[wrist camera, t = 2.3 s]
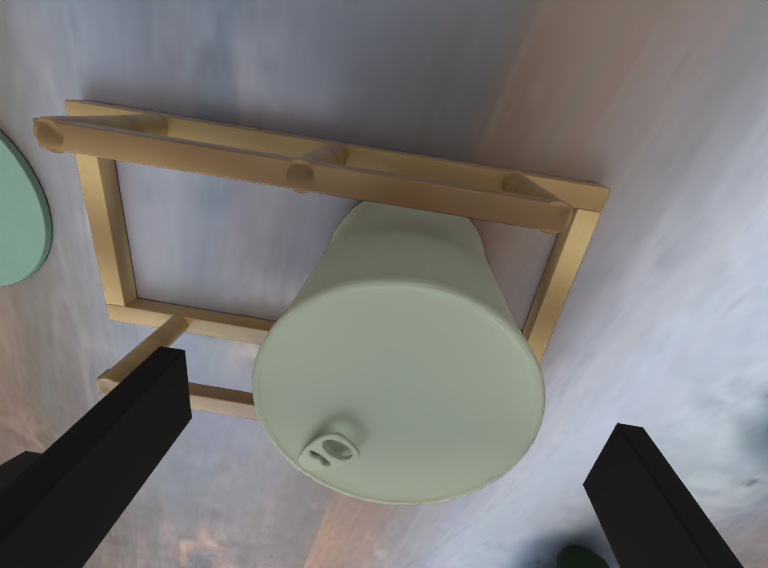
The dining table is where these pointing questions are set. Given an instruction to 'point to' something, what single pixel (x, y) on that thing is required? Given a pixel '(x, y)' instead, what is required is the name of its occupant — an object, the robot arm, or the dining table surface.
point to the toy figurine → (580, 559)
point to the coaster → (21, 217)
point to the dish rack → (302, 174)
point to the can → (400, 364)
